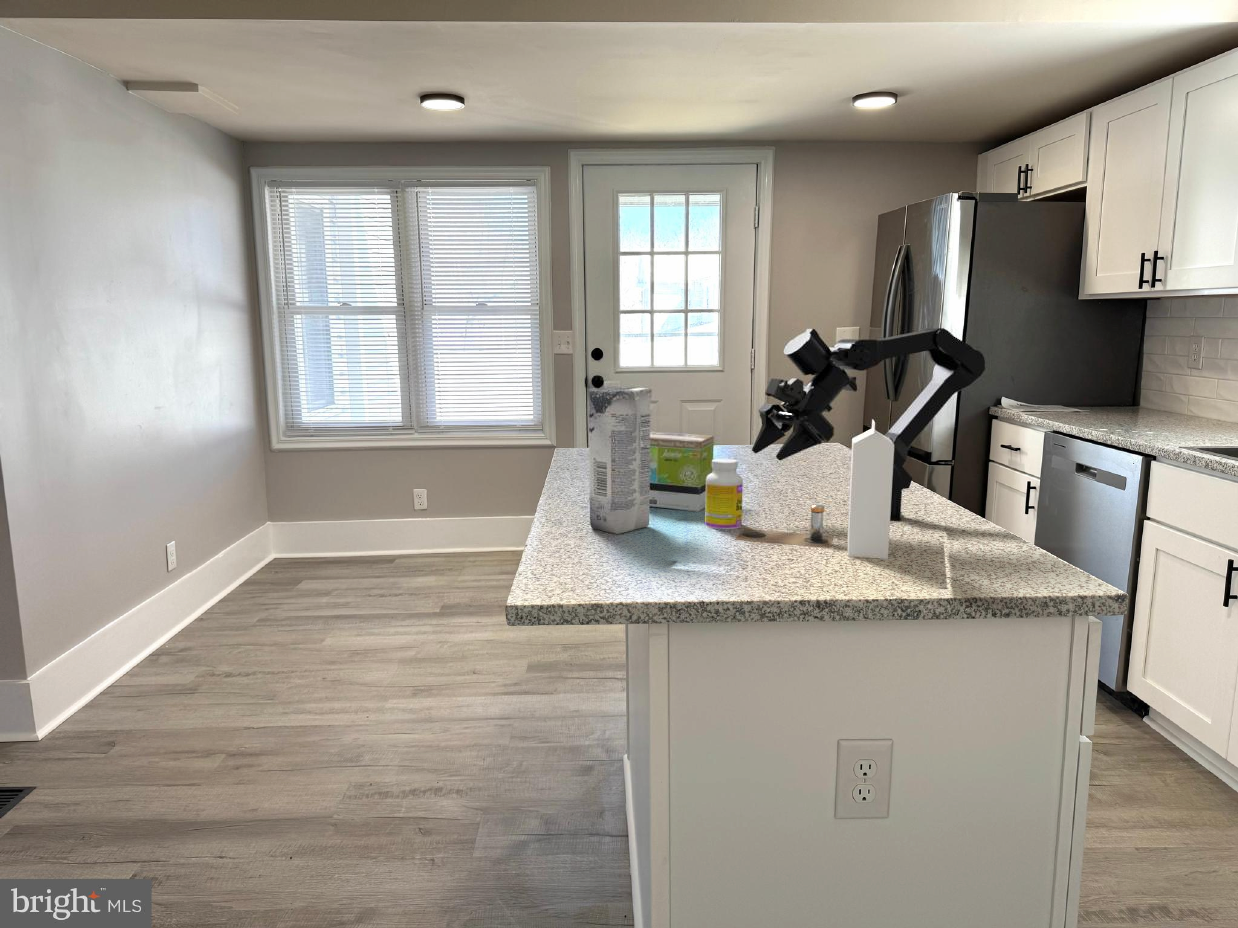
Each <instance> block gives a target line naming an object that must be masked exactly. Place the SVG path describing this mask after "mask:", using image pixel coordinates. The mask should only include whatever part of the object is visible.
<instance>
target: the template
mask: <svg viewBox="0 0 1238 928" xmlns="http://www.w3.org/2000/svg"><path fill="white" fill-rule="evenodd" d="M834 538H835V536H834V535H823V536H822V541H821V542H814V541H810V533H799V532H787V531H776V530H775V531H774V530H764V529H754V528H753V529H752V528H744V529H742V531H741V532H740V533H739V534H738V535H737V536H736V537H735V538H734V540H737V541H748V542H758V543H767V544H769V543H770V544H780V545H790V546H791V545H793V546H799V547H801V546H803V547H811V548H812V547H813V548H823V549H829V548H830V546H831V544H832V543H833V539H834Z"/></svg>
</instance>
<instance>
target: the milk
mask: <svg viewBox="0 0 1238 928" xmlns="http://www.w3.org/2000/svg"><path fill="white" fill-rule="evenodd" d="M884 435H885V434H883V433H881V432H879V431H877V430H876V422H875V420H874V419H871V428H870V429H868V430H866V431H864V432H862V433H861V434H859V435H856V436H854V437H853V438H852V439H851V455H850V456H851V458H850V476H849V477H850V479H849V480H850V481H849V503H848V520H847V521H848V523H847V539H846V540H847V541H846V549H847V556H848V557H855V558H871V559H885V560H886V559H889V547H890V545H889V544H890V529H891V527H890V525H891V520H890V512H891V494H892V476H893V458H894V444H893V442H892V441H891V439H889V438H887V437H886V436H884Z"/></svg>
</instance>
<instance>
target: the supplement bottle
mask: <svg viewBox="0 0 1238 928" xmlns="http://www.w3.org/2000/svg"><path fill="white" fill-rule="evenodd" d="M738 467H739V461H738V460H737V459H734V458H713V460H712V469H713V472H712V473H711V474H709V475H708V476H707V478H706V504H705V509H704V511H705V513H704V521H705V522H704V527H707V528H710V529H718V530H733V529H734V530H735V529H738V528H741V527H742V526H743V525H742V524H743V523H742V522H743V521H742V520H743V489H744V488H743V487H744V486H743V485H744V483H743V481H744V480H743V477H742V476H741V475H740V474H738V473H737V469H738Z"/></svg>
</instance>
